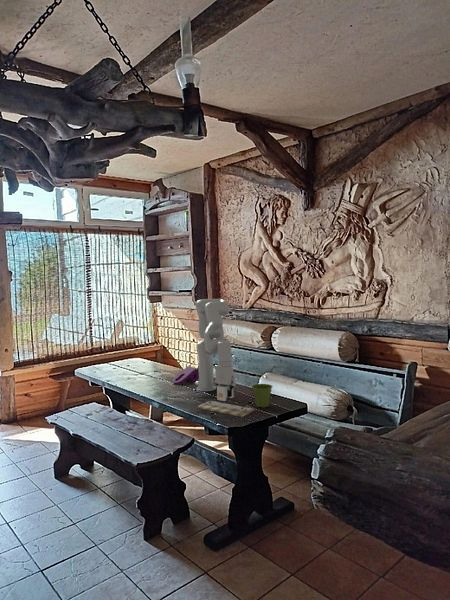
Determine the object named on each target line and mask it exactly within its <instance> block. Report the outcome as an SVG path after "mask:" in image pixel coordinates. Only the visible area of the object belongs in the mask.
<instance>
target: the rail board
mask: <svg viewBox="0 0 450 600" xmlns="http://www.w3.org/2000/svg"><path fill="white" fill-rule="evenodd" d="M210 401H211V402H217V403H222V404H227V405H232V406H238V407H243V408H247V411H245V412H240V411H235V410H230V409H225V408H220V407H214V406H209V405H205V402H203V403H202V404H199V405H197V408H198V409H203V410H206V411H211V412H217V413H222V414H227V415H231V416H235V417H242V418H243V417H246V416H248V415H249V414H251V413H253V412H255V411H256V410H255V408H251V407H247V406H240V405H235V404H231V403H226V402H219V401H213V400H210Z"/></svg>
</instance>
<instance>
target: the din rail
mask: <svg viewBox="0 0 450 600" xmlns="http://www.w3.org/2000/svg"><path fill="white" fill-rule="evenodd" d="M211 401H212V400H209V401H206V402H205V401H204V403H205V405H209V406H214V407H220V408H225V409H230V410H235V411H240V412H245V411H247V408H248V407H247V408H243V407H244V406H241V407H238V406H239V405H236V406H232V405H233V404H231V405H227V404H228V403H225V404H222V403H223V402H220V403H217V402H218V401H215V402H211Z"/></svg>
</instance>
